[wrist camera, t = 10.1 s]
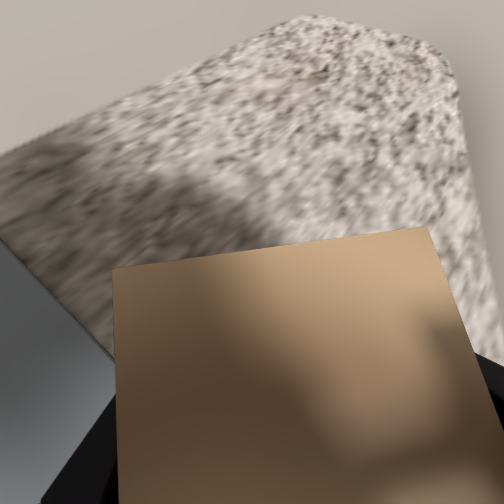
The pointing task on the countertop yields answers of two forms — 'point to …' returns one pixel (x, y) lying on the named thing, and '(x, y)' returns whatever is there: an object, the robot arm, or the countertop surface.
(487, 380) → the robot arm
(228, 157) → the countertop surface
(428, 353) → the cover box
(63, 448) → the slate mat
